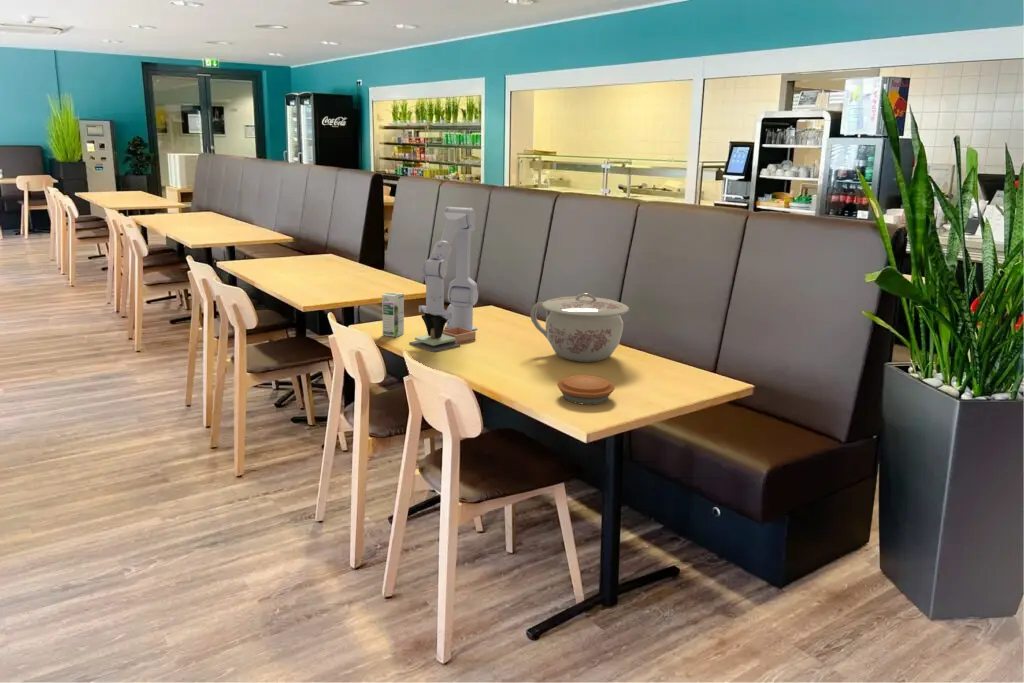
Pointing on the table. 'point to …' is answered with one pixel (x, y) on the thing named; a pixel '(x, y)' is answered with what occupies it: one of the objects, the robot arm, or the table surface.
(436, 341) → the lid
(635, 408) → the table surface
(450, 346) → the mat
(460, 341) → the dish
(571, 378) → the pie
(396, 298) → the syrup box
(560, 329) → the chamber pot
